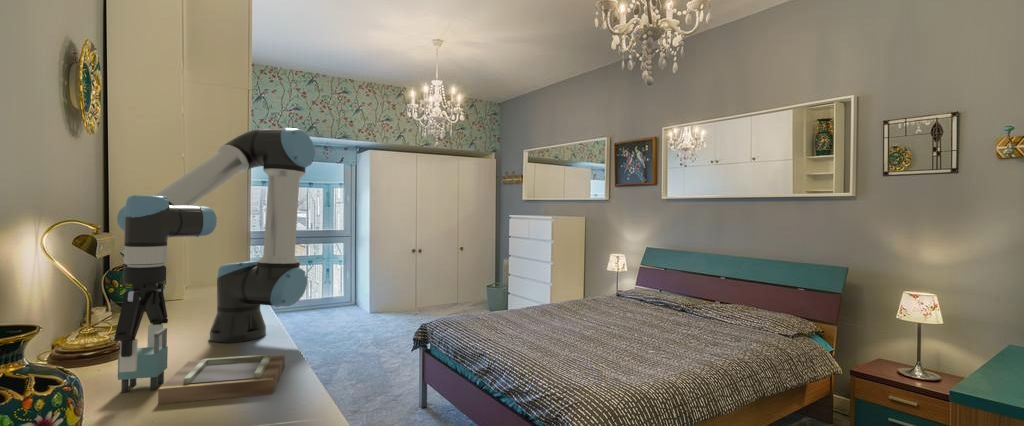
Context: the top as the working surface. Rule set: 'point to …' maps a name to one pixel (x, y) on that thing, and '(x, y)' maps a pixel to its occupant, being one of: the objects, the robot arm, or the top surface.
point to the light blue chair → (148, 364)
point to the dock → (223, 378)
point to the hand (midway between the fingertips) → (142, 361)
